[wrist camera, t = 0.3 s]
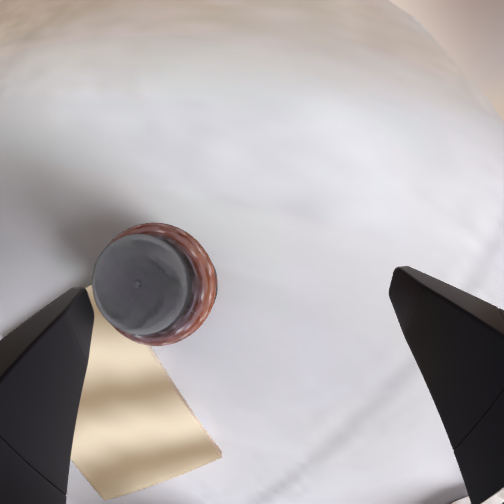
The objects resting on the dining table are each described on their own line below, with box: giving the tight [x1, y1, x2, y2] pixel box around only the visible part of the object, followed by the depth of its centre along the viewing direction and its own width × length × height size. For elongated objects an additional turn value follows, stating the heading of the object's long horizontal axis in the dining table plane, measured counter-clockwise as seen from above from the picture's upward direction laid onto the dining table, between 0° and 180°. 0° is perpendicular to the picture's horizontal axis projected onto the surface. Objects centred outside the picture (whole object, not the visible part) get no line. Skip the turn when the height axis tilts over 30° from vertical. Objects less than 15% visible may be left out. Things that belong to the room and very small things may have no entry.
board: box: [70, 285, 222, 500], centre depth 21 cm, size 16×12×1 cm
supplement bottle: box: [92, 223, 217, 346], centre depth 17 cm, size 6×6×11 cm
